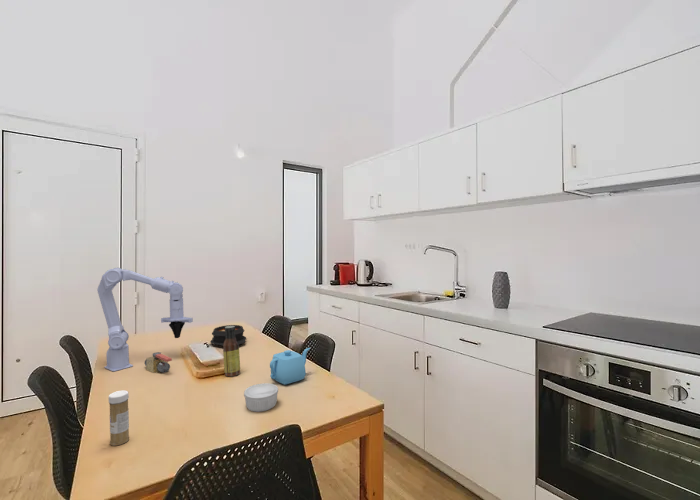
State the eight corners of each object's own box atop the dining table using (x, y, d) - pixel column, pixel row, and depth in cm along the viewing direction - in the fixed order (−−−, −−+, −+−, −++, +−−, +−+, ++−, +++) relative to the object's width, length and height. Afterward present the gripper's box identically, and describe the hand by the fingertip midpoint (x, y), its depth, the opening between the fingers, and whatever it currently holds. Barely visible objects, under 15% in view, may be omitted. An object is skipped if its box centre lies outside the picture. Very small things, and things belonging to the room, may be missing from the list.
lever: (159, 354, 154) (159, 351, 154) (173, 360, 145) (173, 357, 145) (151, 356, 151) (151, 353, 151) (165, 362, 143) (165, 359, 143)
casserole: (253, 345, 186) (253, 329, 186) (217, 352, 175) (217, 335, 175) (238, 335, 206) (237, 321, 206) (204, 341, 195) (204, 326, 195)
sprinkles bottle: (107, 442, 96) (106, 393, 95) (126, 435, 99) (125, 388, 99) (113, 448, 93) (111, 398, 92) (132, 441, 96) (130, 392, 96)
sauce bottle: (243, 372, 146) (242, 325, 146) (233, 378, 140) (232, 328, 140) (230, 370, 148) (229, 324, 148) (220, 376, 142) (219, 327, 142)
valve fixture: (142, 368, 153) (141, 355, 153) (156, 364, 158) (155, 352, 158) (158, 374, 145) (157, 361, 145) (172, 370, 150) (172, 357, 150)
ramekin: (260, 417, 108) (260, 400, 108) (236, 408, 114) (236, 392, 114) (285, 402, 118) (285, 387, 118) (262, 395, 124) (261, 380, 124)
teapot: (318, 377, 140) (318, 348, 139) (278, 390, 128) (277, 359, 128) (302, 369, 149) (301, 342, 149) (263, 380, 138) (262, 351, 138)
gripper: (156, 310, 161) (157, 339, 161) (186, 310, 159) (187, 340, 160) (166, 307, 168) (166, 335, 168) (194, 307, 166) (195, 336, 167)
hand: (177, 337), depth 164 cm, fingers closed
